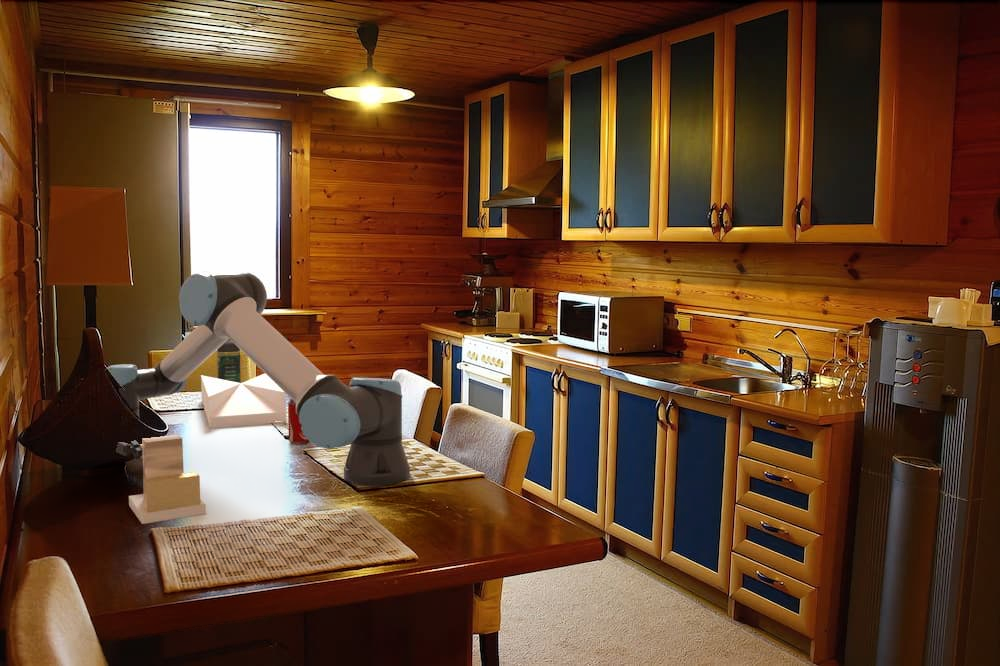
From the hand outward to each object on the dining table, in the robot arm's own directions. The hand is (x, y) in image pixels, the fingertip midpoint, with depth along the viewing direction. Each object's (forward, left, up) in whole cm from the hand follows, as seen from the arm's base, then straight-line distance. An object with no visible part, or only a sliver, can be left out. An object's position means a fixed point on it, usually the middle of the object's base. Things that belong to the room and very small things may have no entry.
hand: (149, 455), depth 188 cm
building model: (+48, -77, -9) cm, 92 cm away
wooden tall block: (-11, +6, -6) cm, 14 cm away
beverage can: (+2, -51, -8) cm, 52 cm away
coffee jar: (+78, -102, -8) cm, 129 cm away
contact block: (-18, +10, -6) cm, 22 cm away
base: (-13, +8, -8) cm, 17 cm away
